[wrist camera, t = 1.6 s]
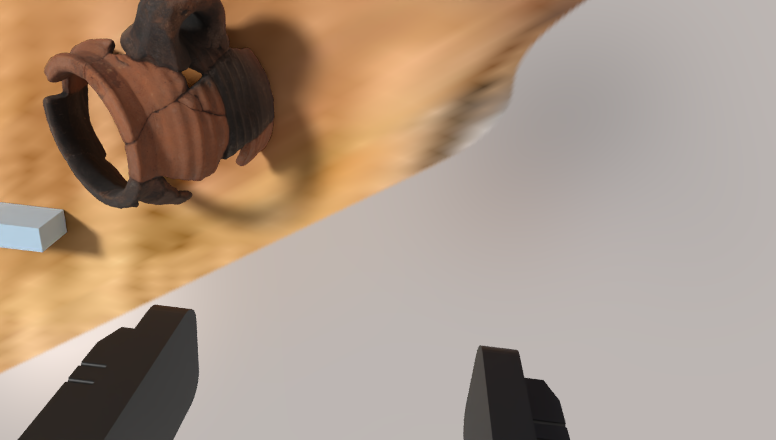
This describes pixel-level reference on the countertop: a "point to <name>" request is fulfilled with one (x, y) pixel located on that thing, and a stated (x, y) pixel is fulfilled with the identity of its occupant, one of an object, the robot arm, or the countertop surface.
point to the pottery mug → (161, 103)
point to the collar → (30, 226)
